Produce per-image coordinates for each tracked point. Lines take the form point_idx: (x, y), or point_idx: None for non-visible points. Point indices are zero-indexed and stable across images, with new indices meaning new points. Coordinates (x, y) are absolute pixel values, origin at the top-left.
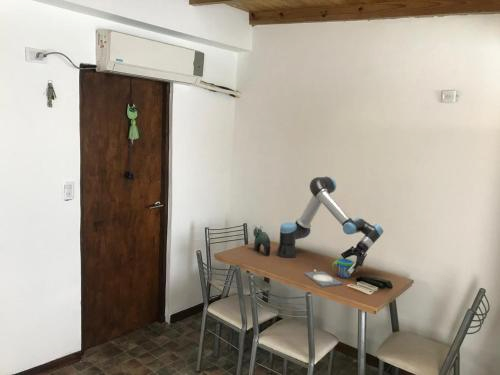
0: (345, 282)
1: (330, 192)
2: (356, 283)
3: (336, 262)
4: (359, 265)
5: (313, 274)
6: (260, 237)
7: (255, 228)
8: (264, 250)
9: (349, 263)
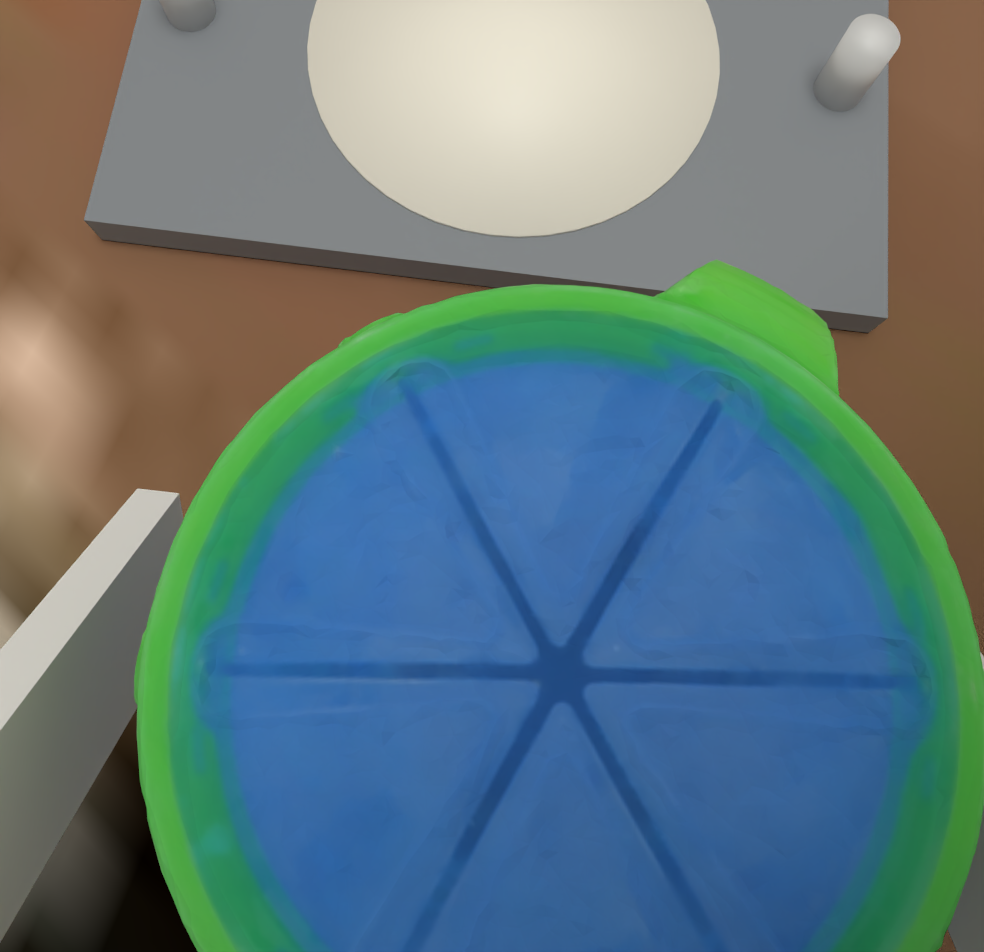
0: (183, 406)
1: None
2: (15, 611)
3: (673, 290)
4: None
5: (757, 8)
6: None
7: None
8: None
9: (251, 689)
